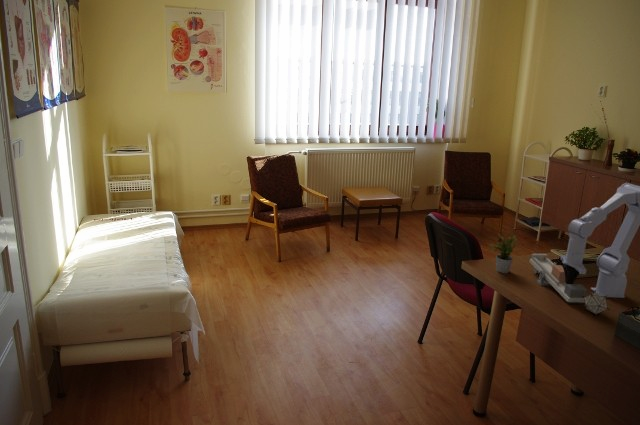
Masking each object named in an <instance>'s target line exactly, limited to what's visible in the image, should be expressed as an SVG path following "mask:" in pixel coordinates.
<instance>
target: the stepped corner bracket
mask: <svg viewBox="0 0 640 425" xmlns="http://www.w3.org/2000/svg"><path fill="white" fill-rule="evenodd" d="M533 272H534V273H535V274H537V275H538V274H539V273H540V274H539V275H538V279H536V283H537V284H538V285H539V286H540V287H541V286H546V287H548V286H549V287H553V286H552V285H551V284H550V283H549V282H548V281H547V280H546V279H545V278H544V277H545V272H544V271H540V272H539V271H538V270H537V269H536V268H535V267H534V270H533ZM564 302H566V303H567V301H566V300H565V299H564ZM567 304H568V305H581V306H582V305H583V302H568V303H567Z"/></svg>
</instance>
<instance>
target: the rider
mask: <svg viewBox="0 0 640 425" xmlns="http://www.w3.org/2000/svg"><path fill="white" fill-rule="evenodd" d="M562 266H563V265H561V264H558V265H557V264H555V265H553V268H552V272H551V274H552V275H553V276H554V277H555V278H556V279H557V280H558V281H559V282H560V283H566V282H565V273H564V269H563V267H562Z"/></svg>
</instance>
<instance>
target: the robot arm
mask: <svg viewBox="0 0 640 425" xmlns="http://www.w3.org/2000/svg"><path fill="white" fill-rule="evenodd" d="M624 204H625V205H626V206H627V209H628V211H627V213H626V215H625V217H624V219H623V221H622V223H621V225H620V227H619V229H618V231H617V234H616V235H615V237H614V240H613V242H612V244H611V246H609V247H606V248H604V249H603V250H602V252H601V253H600V255H598V257H597V259H596V265H597V266H598V270H599V272H598V277H597V281H596V286H595V287H590V290H591V291H593V293H594V292H595V290H596V292H597V293H599V294H601V295H603V296H607V297H606V298H621V299H623V298H626V296H625V292H626V289H627V283H628V279H627V275H626V273H627V271H628V269H629V268H628V267H629V263H630V261H631V259H630V257H629V255H628V254H627V252H628V249H629V248H630V245H631V243H632V241H633V239H634V237H635V235H636V233H637V231H638V229H639V227H640V185H635V184H633V183H630V182H625V183H623V184H621V185H620V186H619V187H617V189H616V192H615V193H614V194H613V196H612V197H610V198H609V199H608V200H606V201H605V203H603V204H602V205H601V206H600V207H596V206H595V207H592V208H591V209H590V210H589V211H588V212H587V213H585V214H584V215H582V216H581V217H580V218H575V219H573V220H571V222H570V223H569V225H568V226H567V231H568V233H569V234H568V238H569V239H568V244H567V250H566V254H561V256H560V260H561V263H562V264H563V265H561V266H562V267H563V269H564V273H565V282H566V284H575V282H576V279H577V277H578V276H579V275H586V273H587V268H586V267H585V265H584V264H583V260H584V255H585V251H586V245H587V240H588V238H589V237H590V236H592V234H593V232H594V230H595V229H596V227H598V226H599V225H600V224H602V223H603V222H604V221H606V220H607V215H608V214H610V213H611V212H613V211H615V210H617V209H618V208H619V207H621V206H622V205H624Z"/></svg>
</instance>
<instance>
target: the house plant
mask: <svg viewBox="0 0 640 425" xmlns="http://www.w3.org/2000/svg"><path fill="white" fill-rule="evenodd" d="M498 236H499V238H500V241H499V240H498V239H497V238H495V237H491V236H490V238H492V240H495V242H496V244H497V245H494V244H488V245H489V246H490V247H492V249H491V253H492V252H498V253H500V254H496V255H495V271H496V272H498V273H502V274H508V273H509V272H510V269H511V268H512V267H511V266H512V263H513V260H514V258H513V257H512V254H513V253H516V252H517V253H521V251H519V250H516V251H514V249H515V248H517V246H518V242H519V239H518V240H517V239H516V237H517V235H513V236H512V237H511V236H509V237H508V239H507V240H505V238H504V237H503V236H502V235H501V234H500V233H498Z"/></svg>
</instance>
